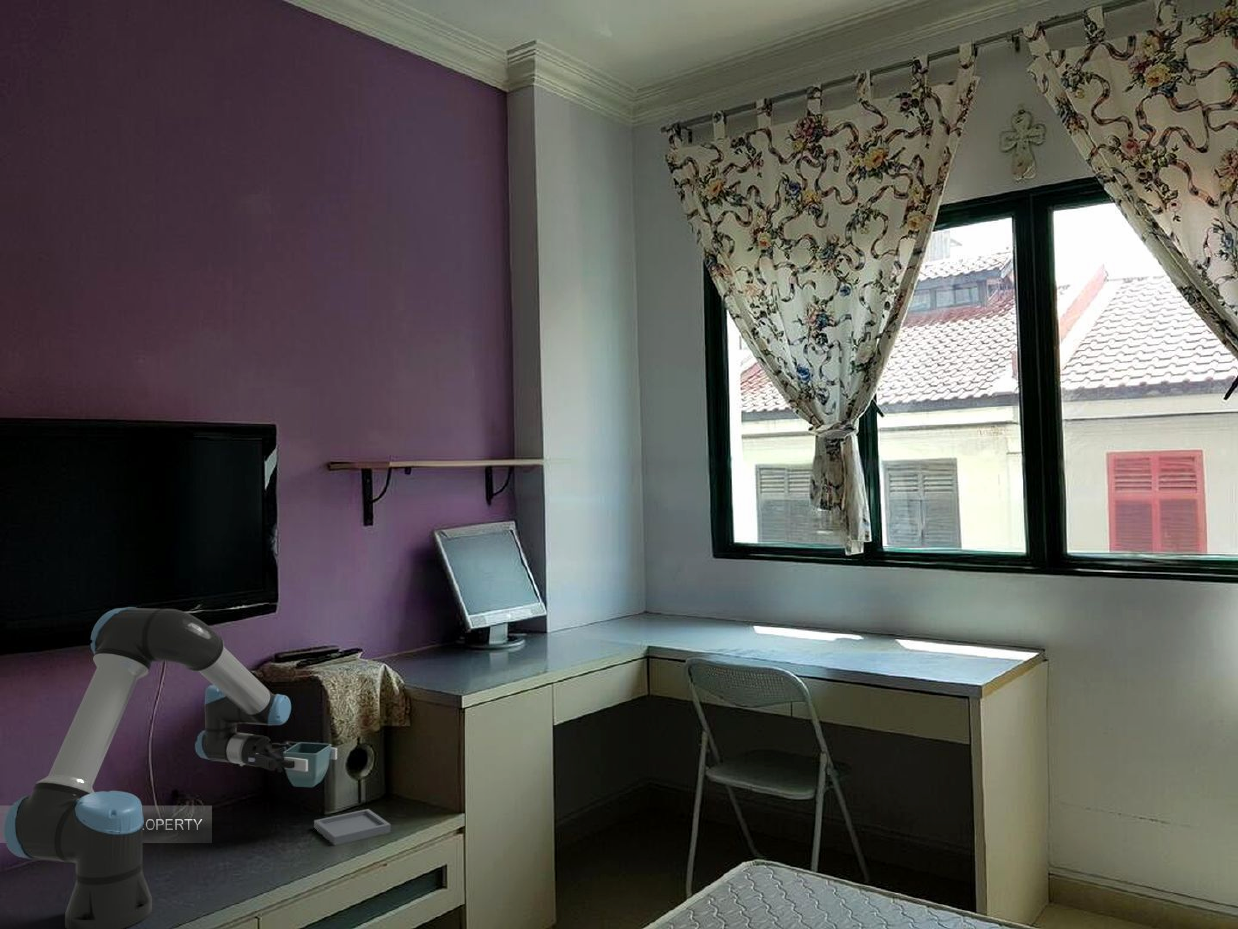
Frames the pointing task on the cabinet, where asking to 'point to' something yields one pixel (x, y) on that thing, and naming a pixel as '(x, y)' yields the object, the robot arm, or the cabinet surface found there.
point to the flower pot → (309, 763)
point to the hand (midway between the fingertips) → (321, 759)
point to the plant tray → (352, 826)
